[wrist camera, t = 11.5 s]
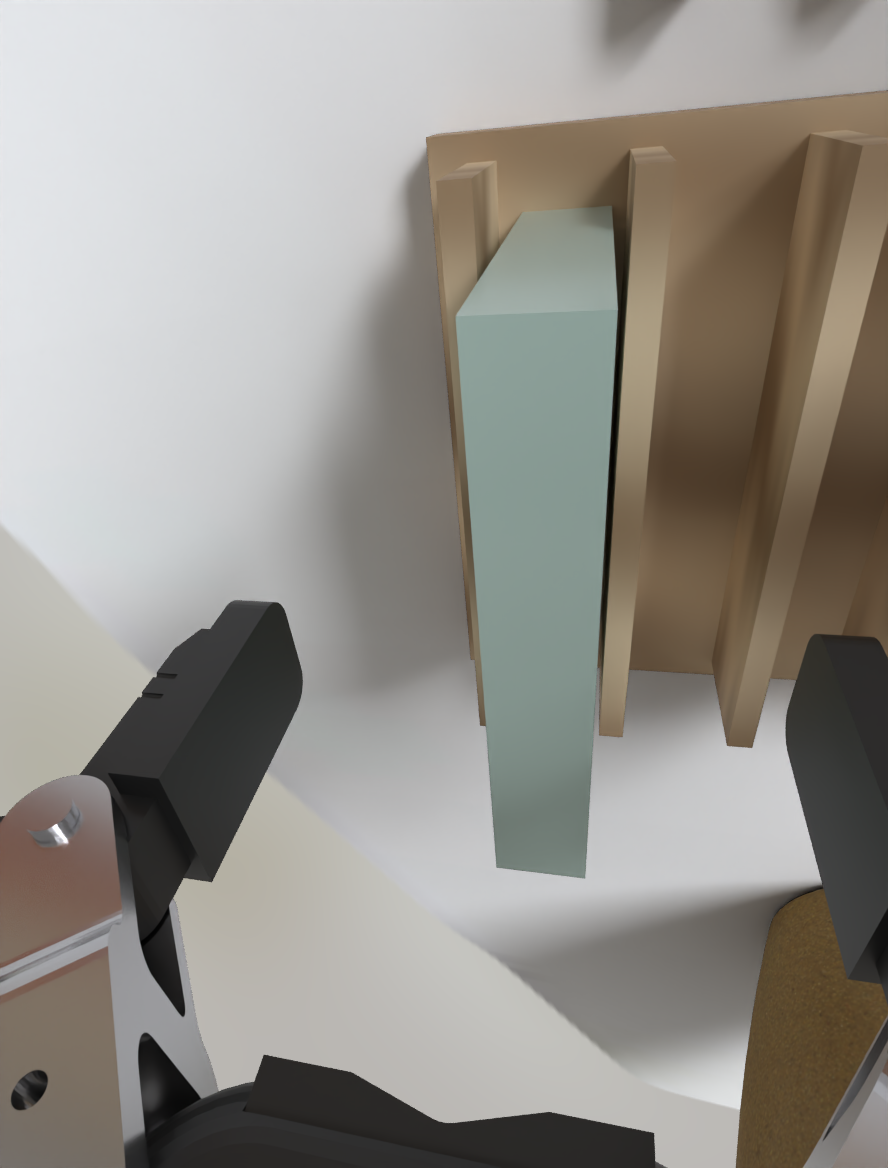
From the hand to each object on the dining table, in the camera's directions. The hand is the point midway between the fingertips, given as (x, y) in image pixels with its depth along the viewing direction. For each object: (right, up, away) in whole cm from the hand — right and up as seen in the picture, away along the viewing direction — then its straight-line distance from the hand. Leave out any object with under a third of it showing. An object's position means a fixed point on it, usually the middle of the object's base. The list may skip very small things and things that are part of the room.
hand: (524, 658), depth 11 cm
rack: (+7, +5, +6) cm, 10 cm away
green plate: (+2, +4, +6) cm, 8 cm away
